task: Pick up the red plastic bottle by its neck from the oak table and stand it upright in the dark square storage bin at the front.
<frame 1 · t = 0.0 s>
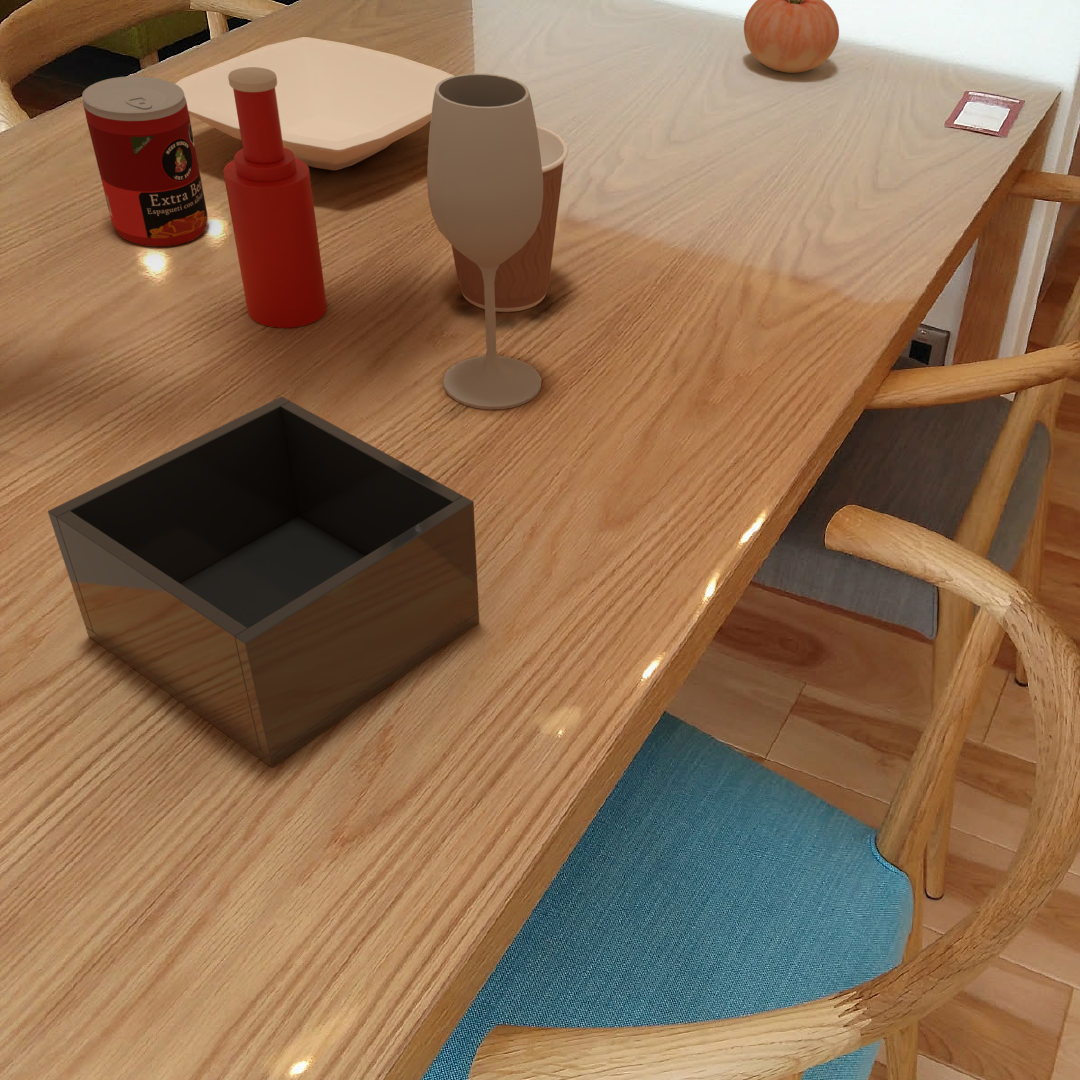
wineglass: (492, 385, 97), on the table
canned food: (162, 229, 111), on the table
dark square storage bin: (288, 629, 76), on the table
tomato: (786, 68, 151), on the table
bottle: (287, 309, 103), on the table
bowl: (327, 151, 125), on the table
coffee cup: (504, 294, 107), on the table
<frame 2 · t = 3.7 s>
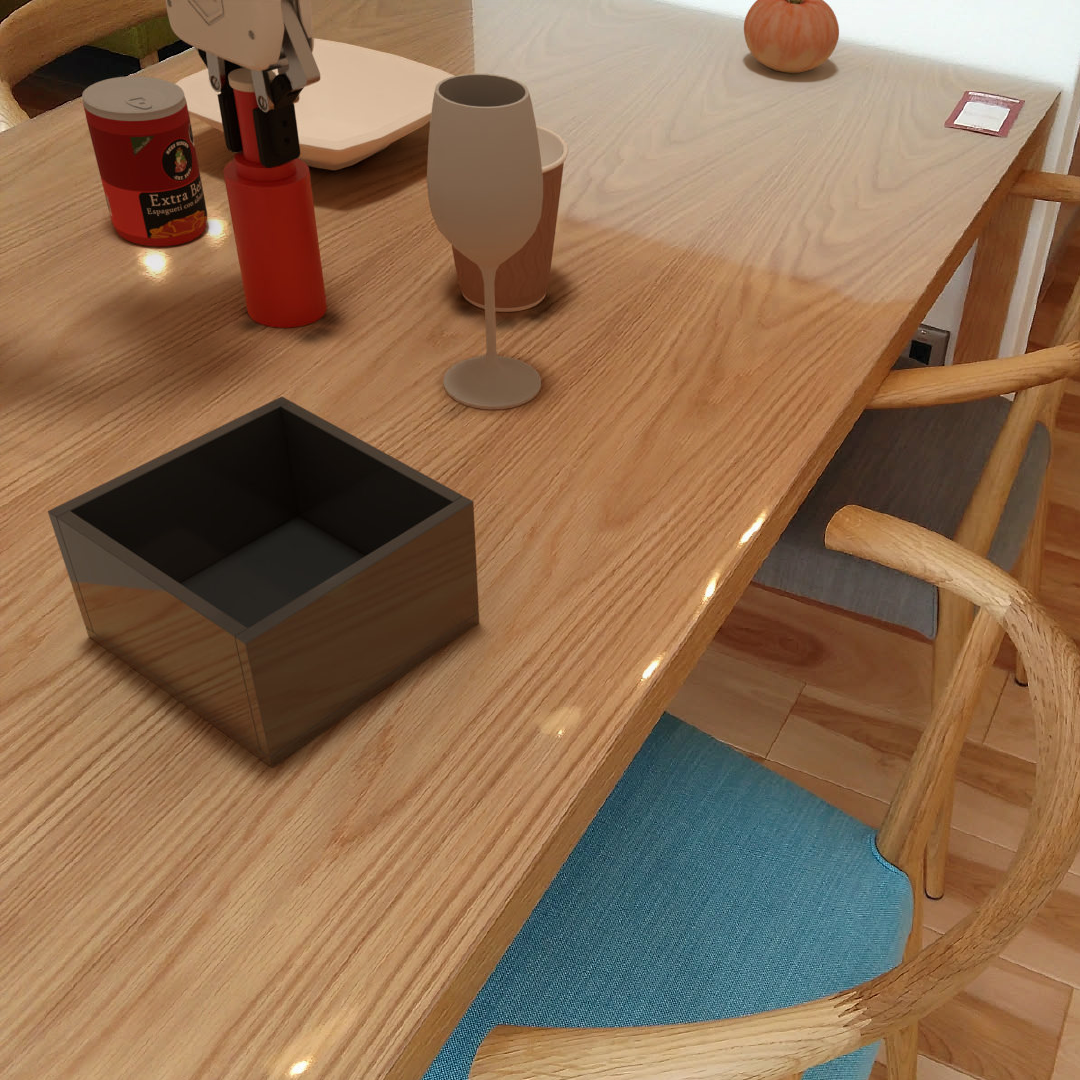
hand: (263, 151, 94), 12 cm above the table, tool pointing down, fingers closed on bottle, 2 cm apart
bottle: (287, 309, 103), on the table, touching gripper
everything else where it was.
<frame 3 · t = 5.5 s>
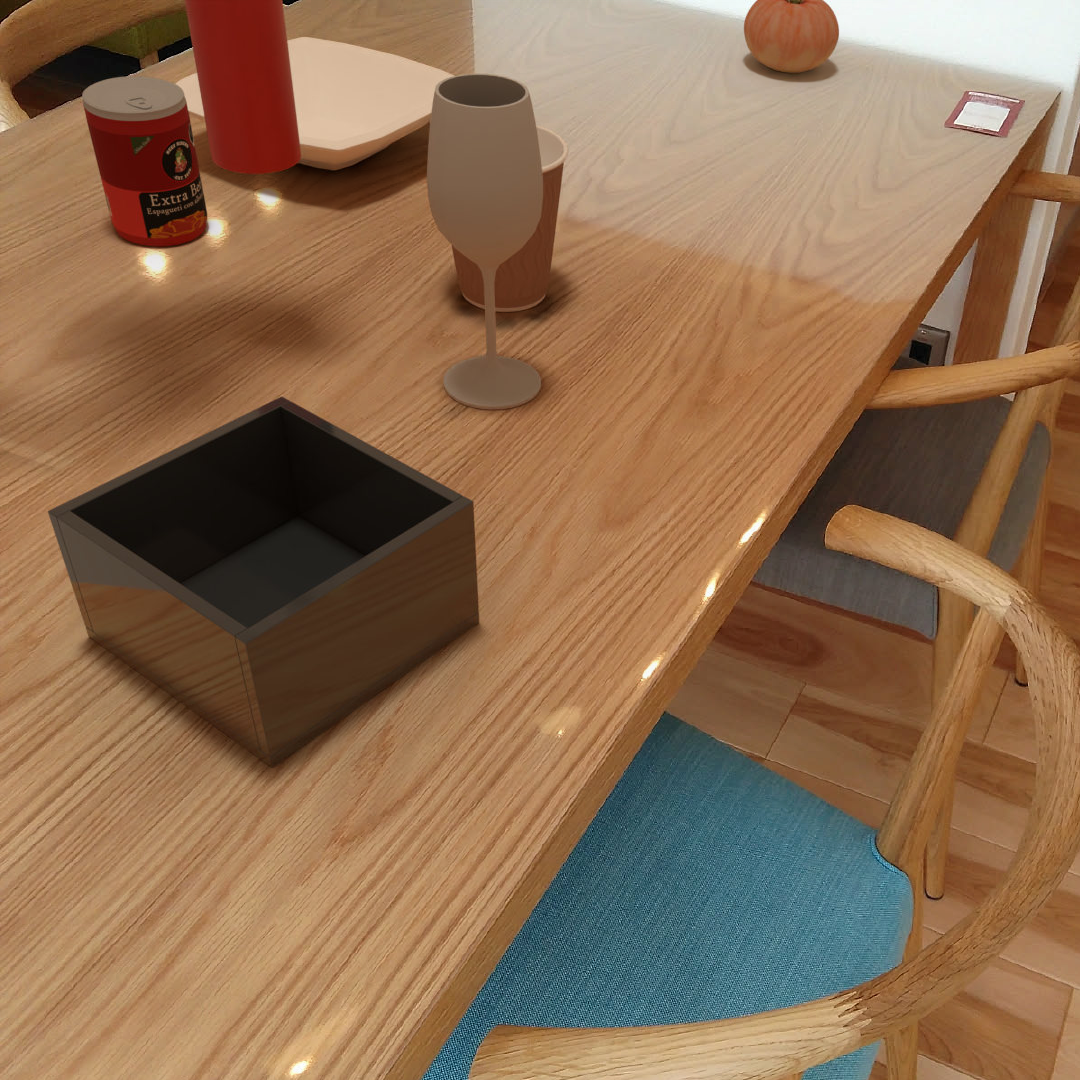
bottle: (256, 156, 91), point 13 cm above the table, touching gripper
everything else where it was.
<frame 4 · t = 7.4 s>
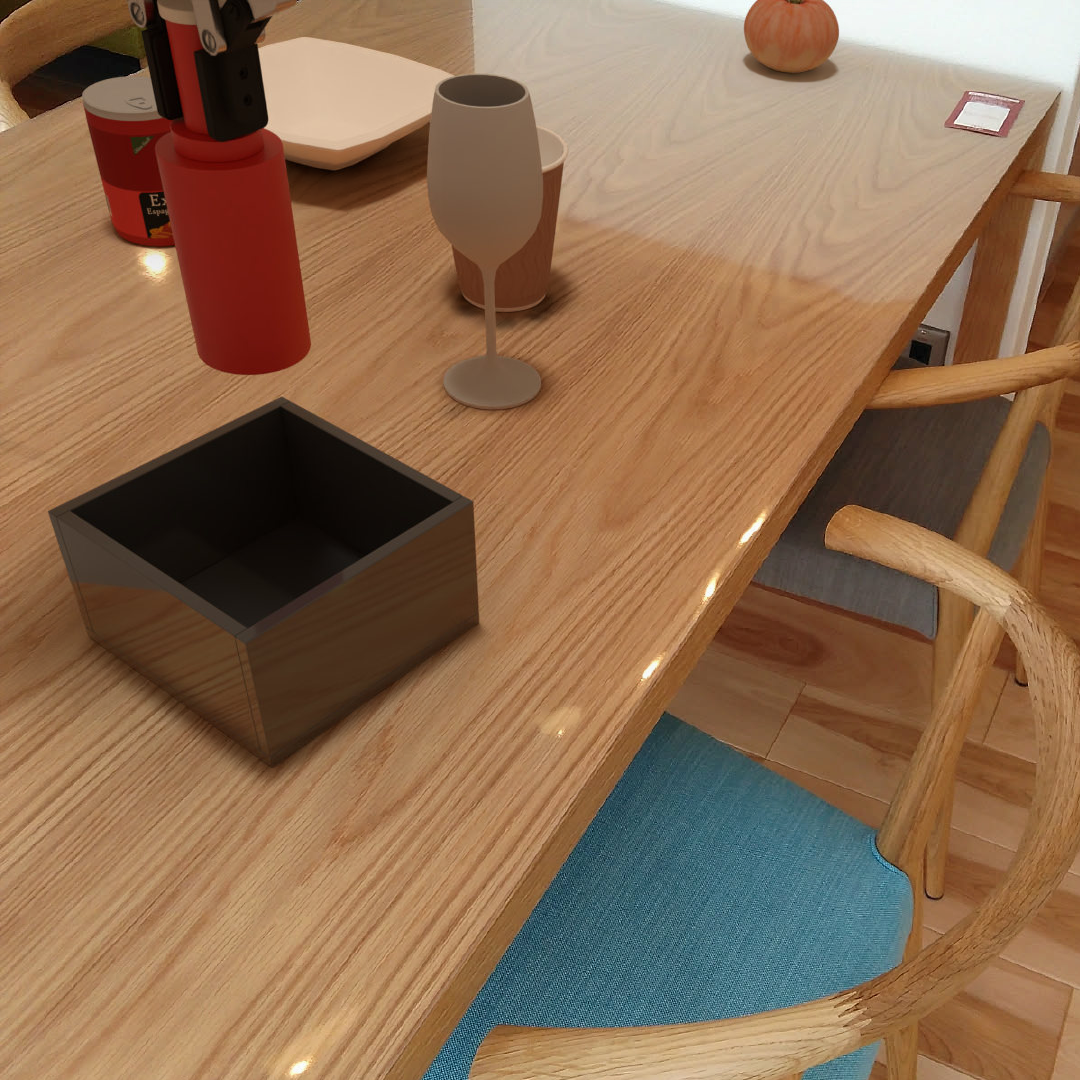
hand: (213, 118, 63), 26 cm above the table, tool pointing down, fingers closed on bottle, 2 cm apart
bottle: (254, 346, 72), point 14 cm above the table, touching gripper
everything else where it was.
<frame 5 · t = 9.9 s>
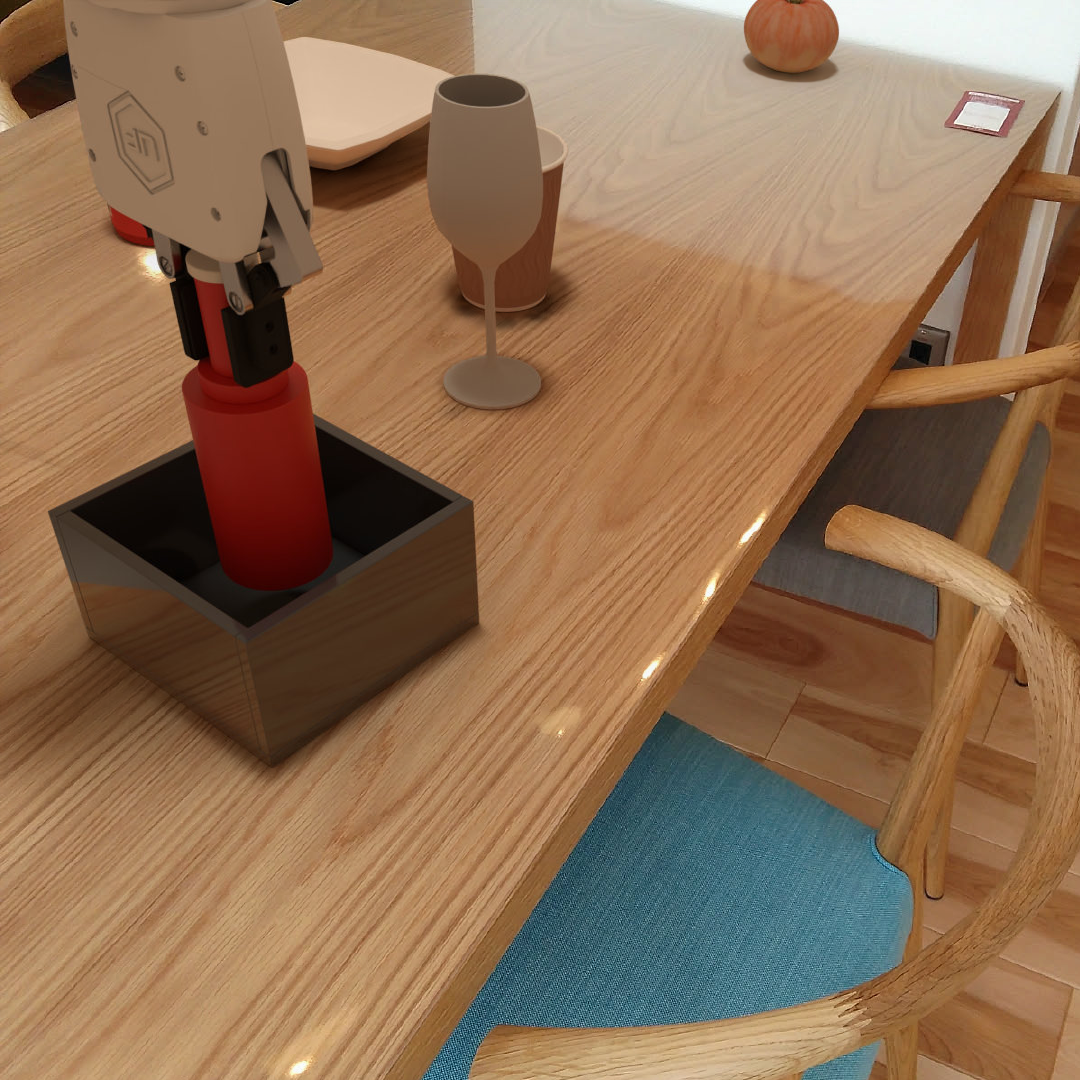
hand: (239, 359, 64), 18 cm above the table, tool pointing down, fingers closed on bottle, 2 cm apart
bottle: (277, 556, 72), point 5 cm above the table, touching gripper
everything else where it was.
when the fingers open (13 cm above the table, at t = 11.3 s): bottle stays where it is, resting on dark square storage bin.
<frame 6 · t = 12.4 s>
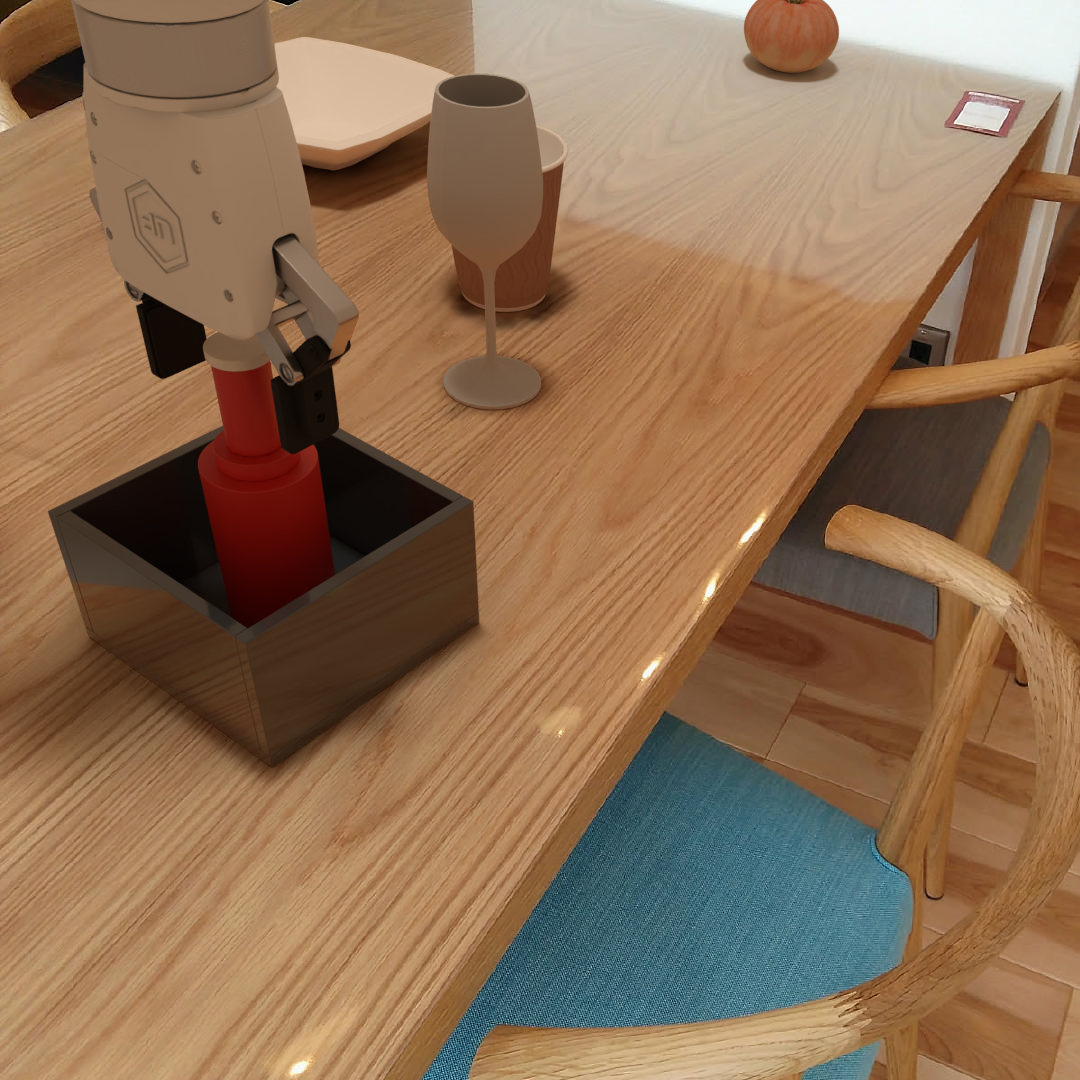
hand: (244, 403, 66), 15 cm above the table, tool pointing down, fingers open, 9 cm apart
bottle: (287, 618, 76), point 1 cm above the table, touching dark square storage bin
everything else where it was.
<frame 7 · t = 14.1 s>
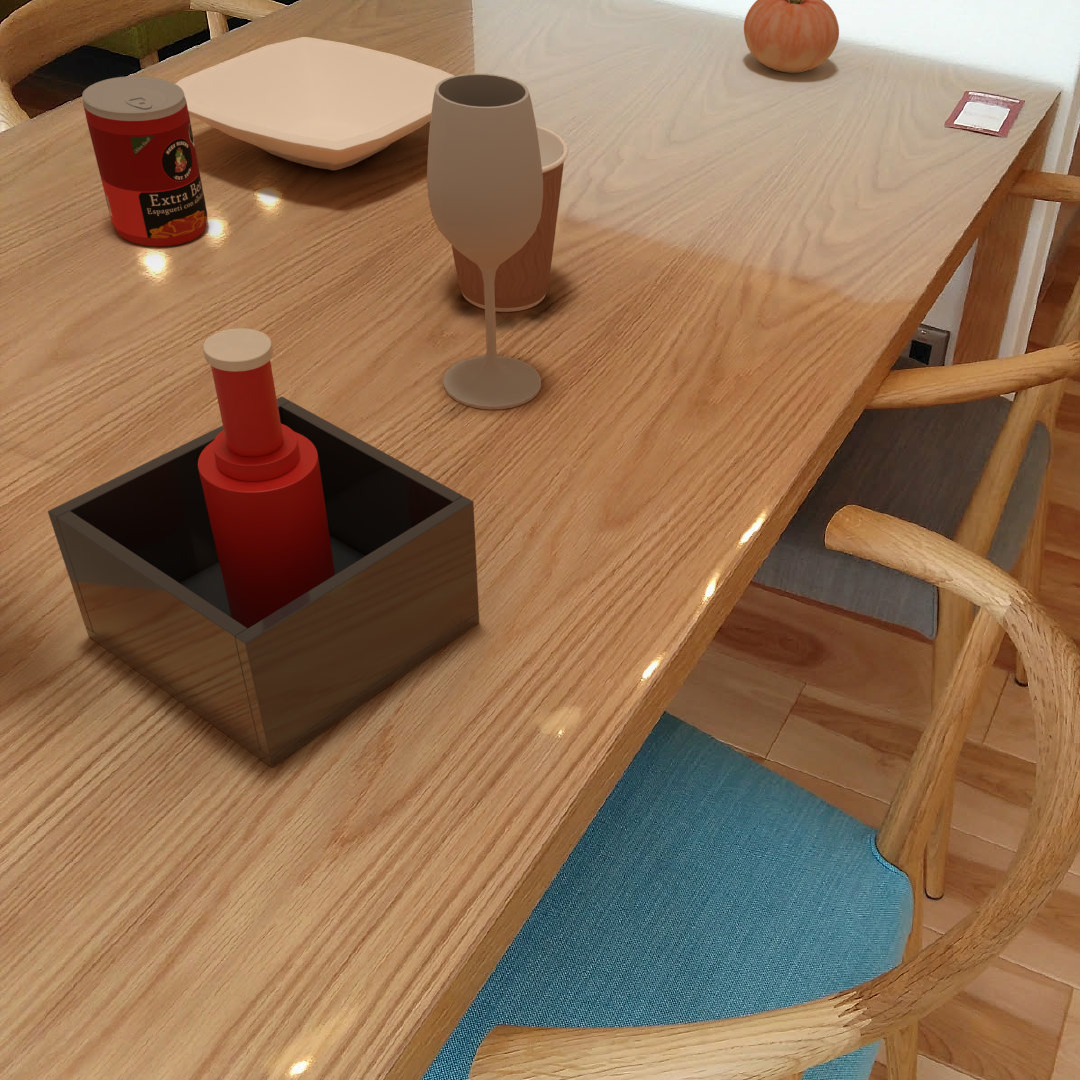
nothing on the table moved.
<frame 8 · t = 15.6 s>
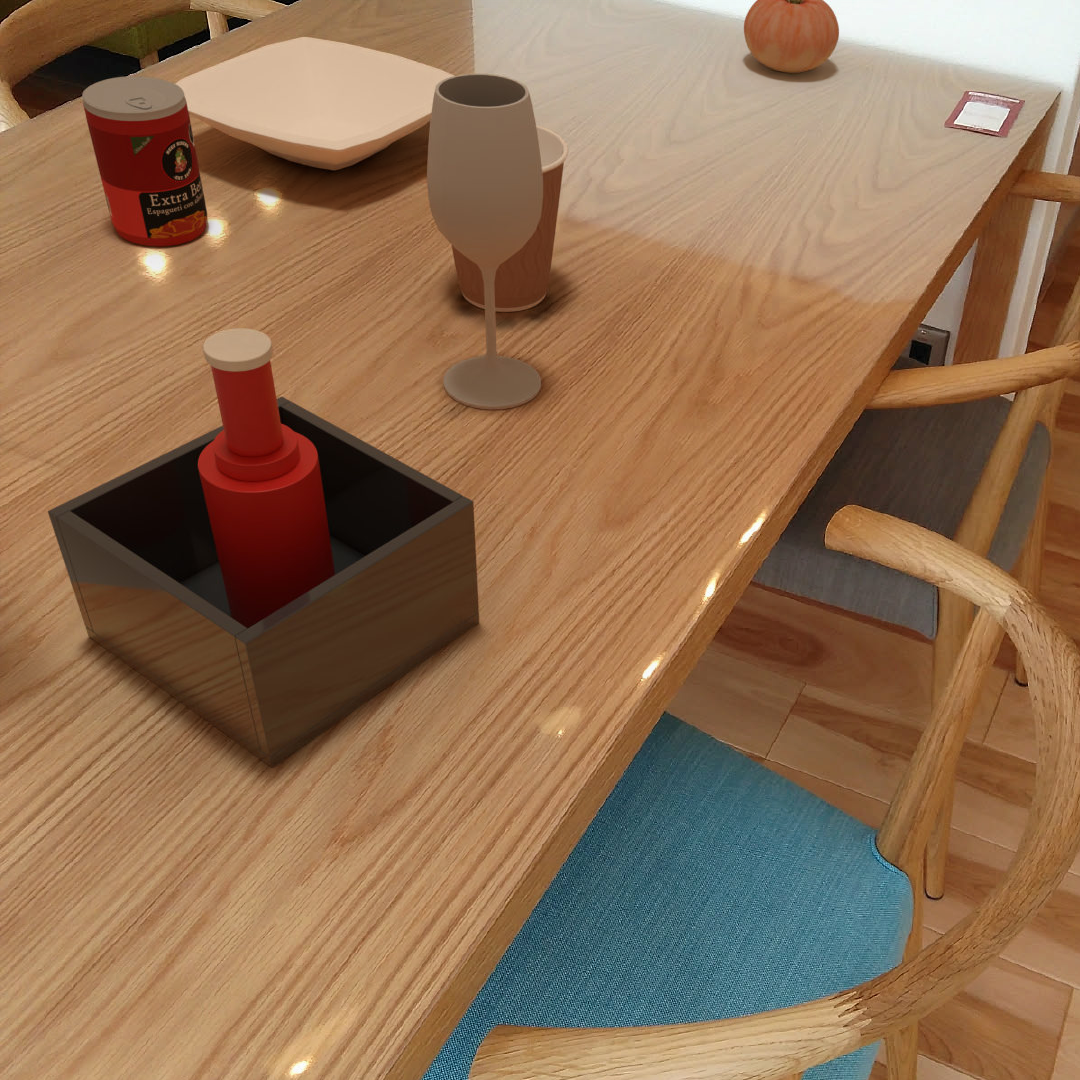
nothing on the table moved.
at the end: bottle inside the target area in the dark square storage bin (0.1 cm from its centre), point 0.8 cm above the dark square storage bin's base; bottle tilted 0°; the gripper is holding nothing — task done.
